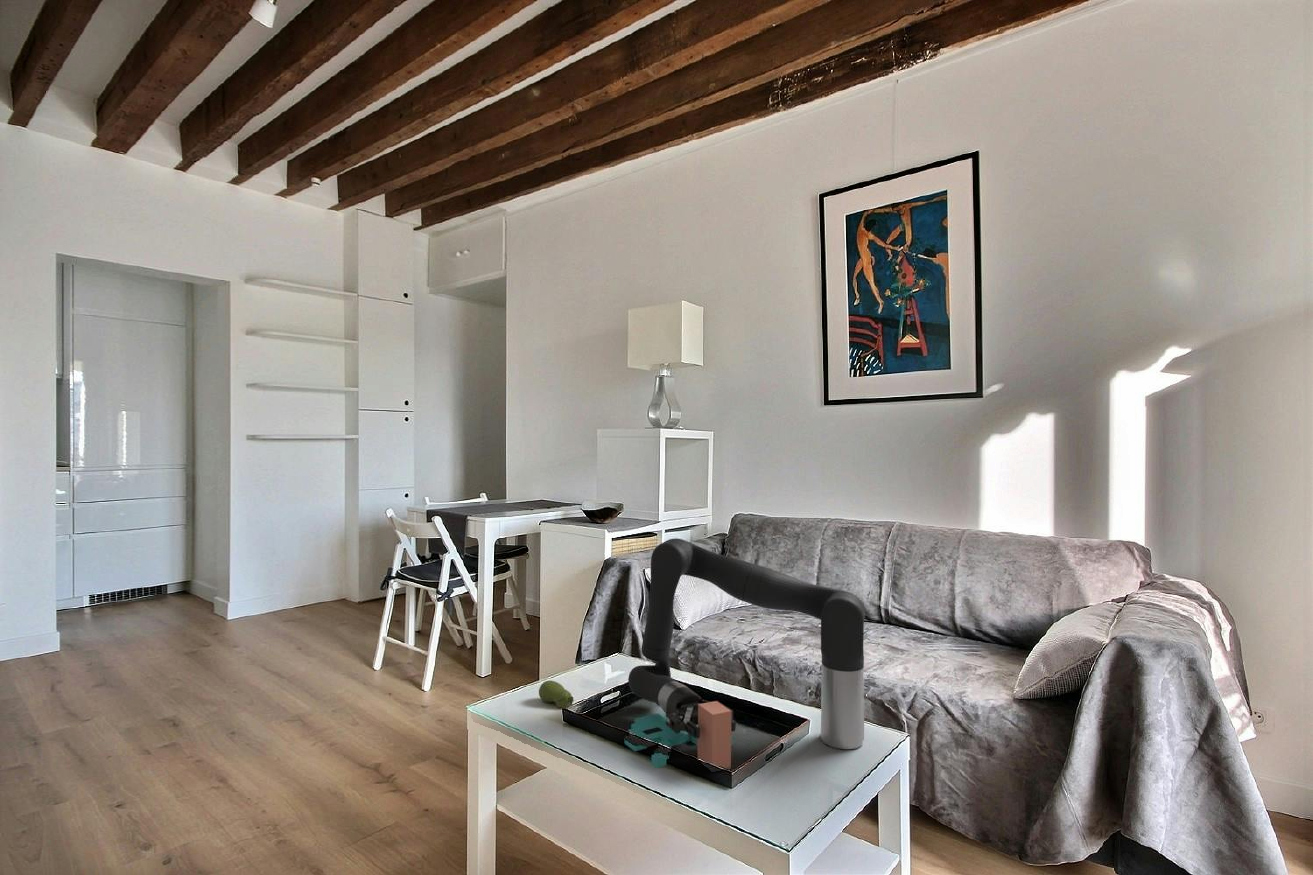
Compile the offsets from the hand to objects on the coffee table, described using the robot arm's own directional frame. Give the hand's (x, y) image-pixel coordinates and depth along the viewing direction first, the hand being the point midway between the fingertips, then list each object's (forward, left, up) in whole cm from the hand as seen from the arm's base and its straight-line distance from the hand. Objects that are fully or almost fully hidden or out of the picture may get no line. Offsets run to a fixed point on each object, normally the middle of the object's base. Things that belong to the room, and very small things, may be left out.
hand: (716, 730), depth 145 cm
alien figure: (-2, -16, -8) cm, 18 cm away
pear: (+5, -50, -8) cm, 51 cm away
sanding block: (0, -1, -8) cm, 8 cm away
